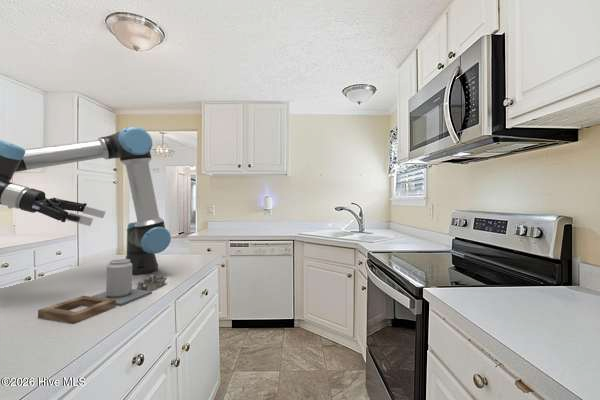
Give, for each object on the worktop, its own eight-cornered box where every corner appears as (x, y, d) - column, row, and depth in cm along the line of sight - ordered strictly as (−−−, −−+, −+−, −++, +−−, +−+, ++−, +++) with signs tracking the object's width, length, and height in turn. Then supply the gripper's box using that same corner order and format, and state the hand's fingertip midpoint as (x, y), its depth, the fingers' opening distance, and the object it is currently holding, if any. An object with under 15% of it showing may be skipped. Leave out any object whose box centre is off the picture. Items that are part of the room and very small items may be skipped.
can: (119, 299, 94) (120, 263, 94) (100, 297, 95) (101, 261, 95) (136, 292, 101) (137, 258, 101) (118, 290, 103) (119, 257, 103)
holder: (83, 302, 93) (83, 295, 93) (115, 306, 89) (115, 299, 89) (37, 317, 80) (38, 310, 80) (73, 323, 77) (73, 315, 77)
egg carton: (151, 292, 105) (152, 281, 105) (133, 291, 106) (133, 280, 106) (168, 284, 116) (169, 274, 116) (151, 282, 117) (152, 272, 117)
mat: (118, 289, 106) (118, 287, 106) (151, 293, 103) (151, 291, 103) (84, 301, 94) (84, 298, 94) (120, 306, 90) (120, 303, 90)
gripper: (40, 204, 105) (105, 221, 112) (-5, 216, 81) (81, 236, 89) (47, 184, 105) (111, 203, 112) (5, 191, 81) (89, 214, 89)
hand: (98, 218), depth 101 cm, fingers open, 13 cm apart
